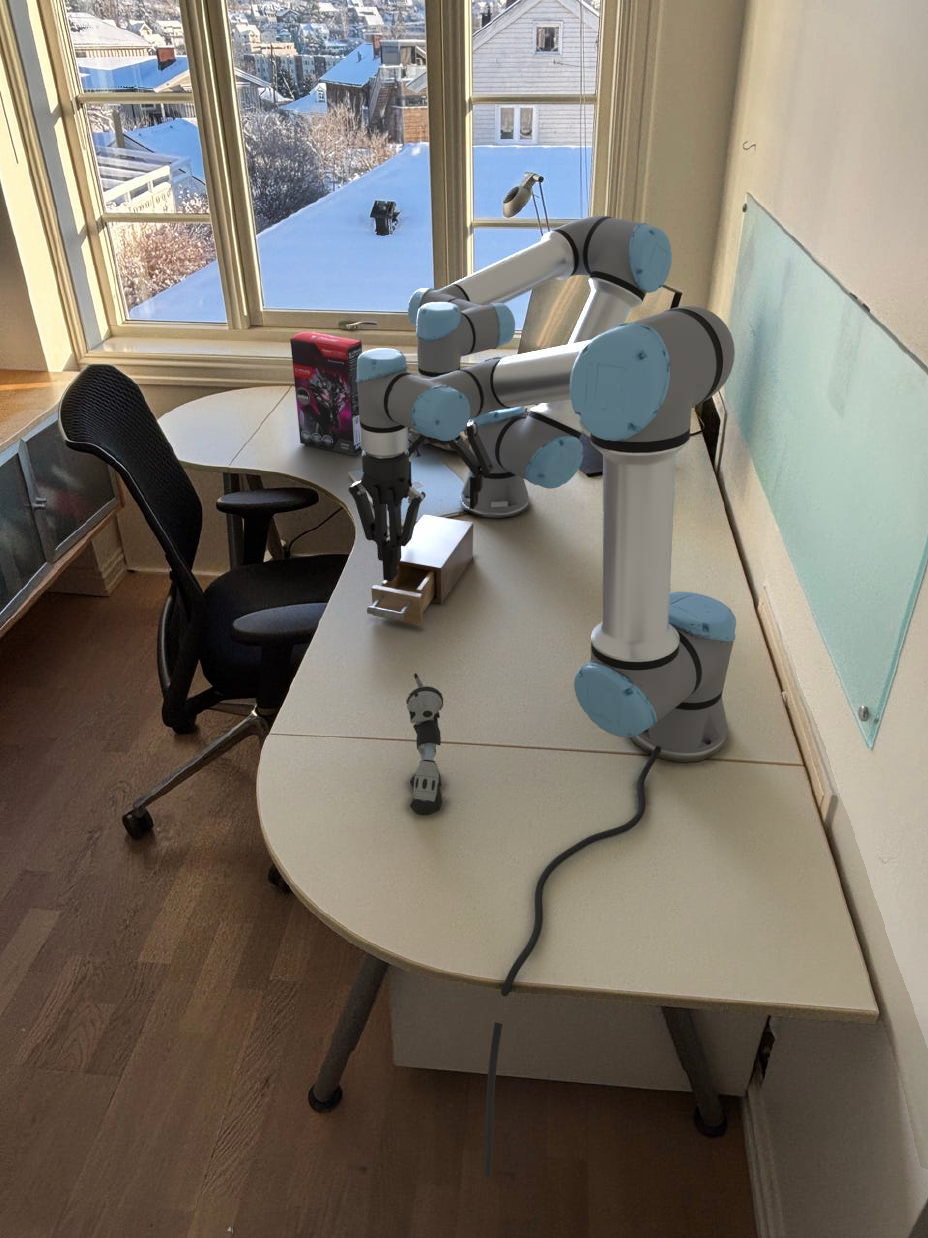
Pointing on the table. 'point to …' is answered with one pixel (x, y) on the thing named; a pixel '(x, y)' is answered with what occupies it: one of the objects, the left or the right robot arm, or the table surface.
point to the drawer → (404, 595)
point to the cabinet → (440, 550)
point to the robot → (426, 746)
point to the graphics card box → (327, 391)
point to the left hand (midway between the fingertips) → (440, 500)
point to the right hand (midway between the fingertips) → (390, 576)
